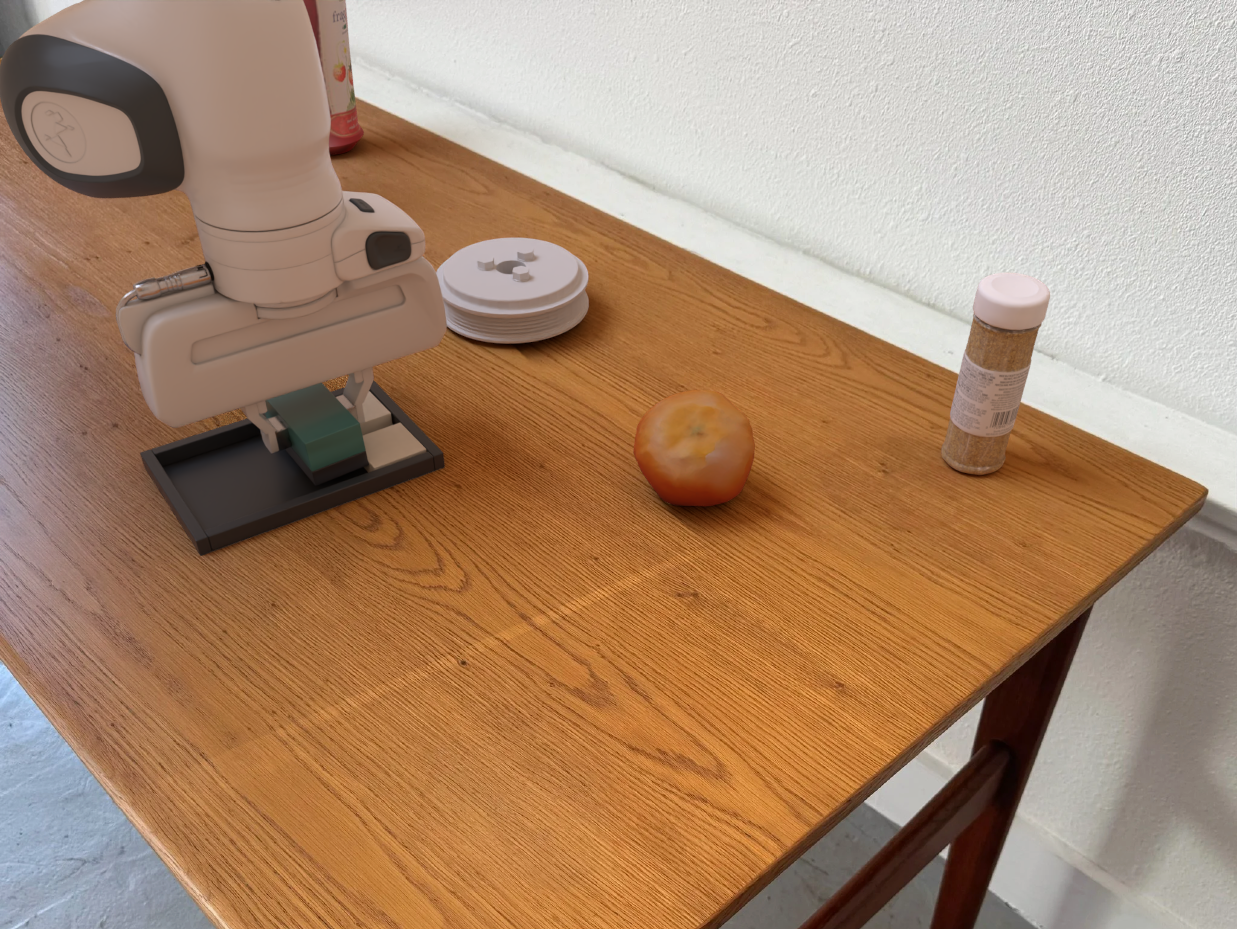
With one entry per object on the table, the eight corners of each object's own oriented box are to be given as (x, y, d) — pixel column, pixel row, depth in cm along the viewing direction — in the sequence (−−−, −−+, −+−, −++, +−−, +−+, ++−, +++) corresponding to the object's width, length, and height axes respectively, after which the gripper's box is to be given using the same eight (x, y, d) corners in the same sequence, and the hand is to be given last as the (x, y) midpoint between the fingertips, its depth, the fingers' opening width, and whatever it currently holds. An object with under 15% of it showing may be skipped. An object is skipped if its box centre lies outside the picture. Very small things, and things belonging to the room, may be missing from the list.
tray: (202, 561, 76) (195, 540, 75) (145, 472, 83) (139, 452, 82) (445, 472, 83) (443, 452, 82) (375, 397, 90) (372, 378, 89)
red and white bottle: (360, 161, 123) (314, -156, 104) (291, 160, 123) (231, -157, 104) (373, 134, 128) (331, -172, 109) (306, 133, 128) (252, -173, 109)
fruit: (747, 426, 85) (758, 373, 77) (747, 529, 83) (758, 486, 75) (635, 423, 85) (635, 370, 77) (632, 526, 83) (631, 483, 75)
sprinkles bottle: (986, 437, 86) (1031, 266, 77) (1015, 473, 83) (1065, 299, 74) (928, 445, 86) (966, 273, 77) (955, 481, 82) (998, 306, 73)
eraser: (369, 465, 81) (360, 422, 79) (315, 486, 80) (304, 443, 77) (321, 412, 86) (311, 370, 84) (269, 431, 84) (257, 389, 82)
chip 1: (342, 444, 85) (340, 430, 84) (319, 418, 87) (317, 404, 86) (393, 426, 86) (391, 412, 85) (369, 401, 89) (366, 388, 88)
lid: (531, 370, 93) (527, 312, 90) (407, 326, 98) (400, 270, 95) (617, 304, 101) (617, 249, 97) (499, 266, 106) (495, 212, 102)
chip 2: (376, 481, 81) (374, 467, 80) (351, 454, 84) (348, 440, 83) (428, 462, 83) (426, 448, 82) (402, 436, 85) (400, 422, 85)
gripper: (122, 312, 66) (183, 507, 76) (447, 225, 75) (465, 411, 84) (91, 268, 70) (152, 459, 80) (403, 190, 78) (425, 372, 88)
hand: (315, 434), depth 82 cm, fingers closed on eraser, 4 cm apart
